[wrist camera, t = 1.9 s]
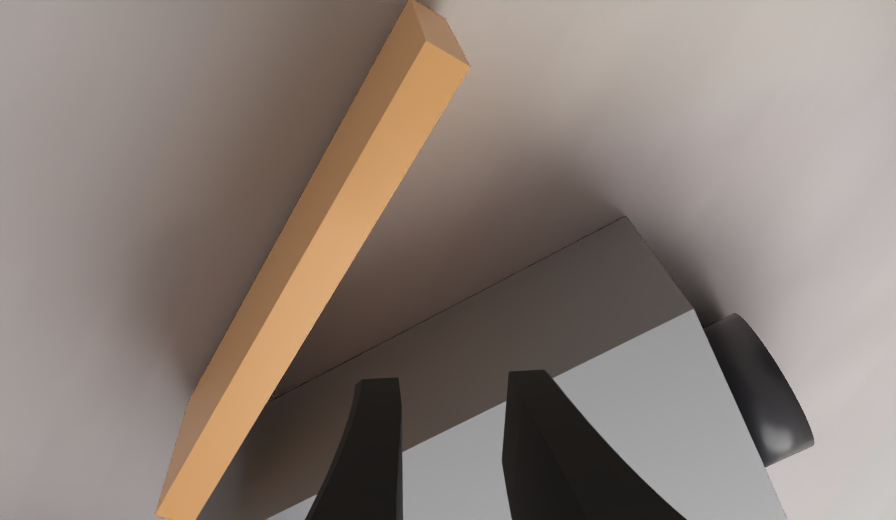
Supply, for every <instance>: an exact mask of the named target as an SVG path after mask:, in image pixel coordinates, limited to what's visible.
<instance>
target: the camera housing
mask: <svg viewBox="0 0 896 520" xmlns="http://www.w3.org/2000/svg"><path fill="white" fill-rule="evenodd" d="M526 370H545V371H546V372H547V373H548V374H549V375H550V376H551V377H552V378H553V379H554V381H555V382H556V383H557V384H558V386H559V387H560V388H561V389H562V391H563V392H564V393H565V394H566V396H567V397H568V398H569V399H570V400H571V402H572V403H573V404H574V405H575V406H576V408H577V409H578V410H579V411H580V412H581V413H582V415H583V416H584V417H585V418H586V419H587V420H588V422H589V423H590V424H591V425H592V426H593V427H594V428H595V430H596V431H597V432H598V433H599V434H600V435H601V436H602V437H603V438H604V439H605V440H606V442H607V443H608V444H609V445H610V446H611V447H612V448H613V449H614V450H615V451H616V452H617V453H618V454H619V456H620V457H621V458H622V459H623V460H624V461H625V462H626V463H627V464H628V465H629V466H630V467H631V468H632V469H633V470H634V471H635V472H636V473H637V474H638V475H639V476H640V477H641V478H642V479H643V480H644V481H645V482H646V483H647V484H648V485H649V486H650V487H651V488H652V489H654V490H655V491H656V492H657V493H658V494H659V495H660V496H661V497H662V498H663V499H664V500H665V501H666V502H667V503H669V504H670V505H671V506H672V507H673V508H674V509H675V510H676V511H677V512H679V513H680V514H681V515H682V516H683V517H684V518H686V519H687V520H788V518H787V516H786V514H785V511H784V509H783V507H782V505H781V502H780V500H779V498H778V496H777V494H776V491H775V489H774V487H773V485H772V482H771V480H770V478H769V476H768V473H767V471H766V469H765V467H767V466H769V465H771V464H774V463H776V462H778V461H780V460H783V459H785V458H787V457H789V456H792V455H794V454H796V453H798V452H800V451H803V450H805V449H807V448H809V447H812V446H813V445H814V438H813V434H812V431H811V428H810V426H809V423H808V421H807V419H806V416H805V414H804V412H803V410H802V408H801V406H800V404H799V402H798V400H797V398H796V396H795V395H794V393H793V391H792V389H791V387H790V385H789V384H788V382H787V380H786V379H785V377H784V375H783V374H782V372H781V370H780V369H779V367H778V365H777V364H776V362H775V361H774V359H773V358H772V356H771V355H770V353H769V352H768V350H767V349H766V347H765V346H764V344H763V343H762V341H761V340H760V339H759V337H758V336H757V335H756V333H755V332H754V331H753V330H752V328H751V327H750V326H749V325H748V324H747V323H746V321H745V320H744V319H743V318H742V317H740V316H739V315H738V314H736V313H734V314H732V315H730V316H728V317H726V318H724V319H722V320H720V321H717V322H715V323H713V324H711V325H709V326H707V327H705V328H702V326H701V324H700V321H699V319H698V317H697V315H696V312H695V310H694V308H693V307H692V305H691V304H690V303H689V301H688V300H687V299H686V297H685V296H684V295H683V293H682V292H681V290H680V289H679V288H678V286H677V285H676V284H675V282H674V281H673V279H672V278H671V277H670V275H669V274H668V273H667V271H666V270H665V269H664V267H663V266H662V264H661V263H660V262H659V260H658V259H657V258H656V256H655V255H654V253H653V252H652V251H651V249H650V248H649V247H648V245H647V244H646V243H645V241H644V240H643V238H642V237H641V236H640V234H639V233H638V232H637V230H636V229H635V227H634V226H633V225H632V223H631V222H630V221H629V219H628V218H627V217H626V216H625V217H623V218H621V219H619V220H617V221H615V222H613V223H611V224H610V225H608V226H606V227H604V228H602V229H600V230H598V231H596V232H594V233H592V234H590V235H588V236H587V237H585V238H583V239H581V240H579V241H577V242H575V243H573V244H571V245H569V246H567V247H565V248H564V249H562V250H560V251H558V252H556V253H554V254H552V255H550V256H548V257H546V258H544V259H542V260H541V261H539V262H537V263H535V264H533V265H531V266H529V267H527V268H525V269H523V270H521V271H519V272H518V273H516V274H514V275H512V276H510V277H508V278H506V279H504V280H502V281H500V282H498V283H496V284H495V285H493V286H491V287H489V288H487V289H485V290H483V291H481V292H479V293H477V294H475V295H474V296H472V297H470V298H468V299H466V300H464V301H462V302H460V303H458V304H456V305H454V306H452V307H451V308H449V309H447V310H445V311H443V312H441V313H439V314H437V315H435V316H433V317H431V318H429V319H428V320H426V321H424V322H422V323H420V324H418V325H416V326H414V327H412V328H410V329H408V330H406V331H405V332H403V333H401V334H399V335H397V336H395V337H393V338H391V339H389V340H387V341H385V342H383V343H382V344H380V345H378V346H376V347H374V348H372V349H370V350H368V351H366V352H364V353H362V354H360V355H359V356H357V357H355V358H353V359H351V360H349V361H347V362H345V363H343V364H341V365H339V366H337V367H336V368H334V369H332V370H330V371H328V372H326V373H324V374H322V375H320V376H318V377H316V378H314V379H313V380H311V381H309V382H307V383H305V384H303V385H301V386H299V387H297V388H295V389H293V390H291V391H290V392H288V393H286V394H284V395H282V396H280V397H278V398H276V399H274V400H272V401H270V402H269V403H267V404H266V405H265V406H264V408H263V410H262V411H261V413H260V414H259V416H258V418H257V419H256V421H255V423H254V424H253V426H252V428H251V429H250V431H249V433H248V434H247V436H246V438H245V439H244V441H243V442H242V444H241V446H240V447H239V449H238V451H237V452H236V454H235V456H234V457H233V459H232V461H231V462H230V464H229V466H228V467H227V469H226V470H225V472H224V474H223V475H222V477H221V479H220V480H219V482H218V484H217V485H216V487H215V489H214V490H213V492H212V494H211V495H210V497H209V498H208V500H207V502H206V503H205V505H204V507H203V508H202V510H201V512H200V513H199V515H198V517H197V518H196V520H305V518H306V516H307V514H308V512H309V510H310V508H311V506H312V504H313V502H314V500H315V498H316V496H317V494H318V492H319V490H320V488H321V486H322V484H323V482H324V479H325V477H326V475H327V473H328V470H329V468H330V466H331V463H332V461H333V458H334V456H335V453H336V451H337V448H338V446H339V443H340V441H341V438H342V435H343V432H344V429H345V426H346V423H347V420H348V417H349V414H350V410H351V406H352V402H353V397H354V390H355V385H356V384H357V383H358V382H359V381H360V380H361V379H375V378H394V377H398V378H399V386H400V394H401V403H402V465H403V520H512V518H511V513H510V507H509V502H508V496H507V491H506V485H505V479H504V472H503V466H502V449H503V437H504V424H505V412H506V399H507V387H508V375H509V371H526Z"/></svg>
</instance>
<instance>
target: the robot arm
mask: <svg viewBox="0 0 896 520" xmlns="http://www.w3.org/2000/svg"><path fill="white" fill-rule="evenodd" d="M502 466H503V472H504V479H505V485H506V491H507V496H508V502H509V507H510V513H511V518H512V520H687V519H686V518H684V517H683V516H682V515H681V514H680V513H679V512H677V511H676V510H675V509H674V508H673V507H672V506H671V505H670V504H669V503H667V502H666V501H665V500H664V499H663V498H662V497H661V496H660V495H659V494H658V493H657V492H656V491H655V490H654V489H652V488H651V487H650V486H649V485H648V484H647V483H646V482H645V481H644V480H643V479H642V478H641V477H640V476H639V475H638V474H637V473H636V472H635V471H634V470H633V469H632V468H631V467H630V466H629V465H628V464H627V463H626V462H625V461H624V460H623V459H622V458H621V457H620V456H619V454H618V453H617V452H616V451H615V450H614V449H613V448H612V447H611V446H610V445H609V444H608V443H607V442H606V440H605V439H604V438H603V437H602V436H601V435H600V434H599V433H598V432H597V431H596V430H595V428H594V427H593V426H592V425H591V424H590V423H589V422H588V420H587V419H586V418H585V417H584V416H583V415H582V413H581V412H580V411H579V410H578V409H577V408H576V406H575V405H574V404H573V403H572V402H571V400H570V399H569V398H568V397H567V396H566V394H565V393H564V392H563V391H562V389H561V388H560V387H559V386H558V384H557V383H556V382H555V381H554V379H553V378H552V377H551V376H550V375H549V374H548V373H547V372H546V371H545V370H526V371H509V375H508V387H507V399H506V412H505V424H504V437H503V449H502ZM305 520H403V465H402V403H401V394H400V386H399V378H398V377H394V378H375V379H361V380H360V381H359V382H358V383H357V384H356V385H355V390H354V397H353V402H352V406H351V410H350V414H349V417H348V420H347V423H346V426H345V429H344V432H343V435H342V438H341V441H340V443H339V446H338V448H337V451H336V453H335V456H334V458H333V461H332V463H331V466H330V468H329V470H328V473H327V475H326V477H325V479H324V482H323V484H322V486H321V488H320V490H319V492H318V494H317V496H316V498H315V500H314V502H313V504H312V506H311V508H310V510H309V512H308V514H307V516H306V518H305Z"/></svg>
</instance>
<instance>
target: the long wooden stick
mask: <svg viewBox="0 0 896 520" xmlns="http://www.w3.org/2000/svg"><path fill="white" fill-rule="evenodd" d="M469 69H470V65H469V63H468V61H467V59H466V57H465V55H464V53H463V51H462V49H461V47H460V46H459V44H458V42H457V40H456V38H455V36H454V34H453V32H452V30H451V28H450V26H449V25H448V23H447V21H446V19H445V18H444V17H442V16H440V15H439V14H437V13H436V12H434V11H432V10H431V9H429V8H427V7H426V6H424V5H422V4H421V3H419V2H417V1H416V0H408V2H407V4H406V6H405V7H404V9H403V11H402V13H401V15H400V16H399V18H398V20H397V22H396V24H395V26H394V27H393V29H392V31H391V33H390V35H389V37H388V38H387V40H386V42H385V44H384V46H383V47H382V49H381V51H380V53H379V55H378V57H377V58H376V60H375V62H374V64H373V66H372V67H371V69H370V71H369V73H368V75H367V77H366V78H365V80H364V82H363V84H362V86H361V88H360V89H359V91H358V93H357V95H356V97H355V98H354V100H353V102H352V104H351V106H350V108H349V109H348V111H347V113H346V115H345V117H344V119H343V120H342V122H341V124H340V126H339V128H338V129H337V131H336V133H335V135H334V137H333V139H332V140H331V142H330V144H329V146H328V148H327V150H326V151H325V153H324V155H323V157H322V159H321V160H320V162H319V164H318V166H317V168H316V170H315V171H314V173H313V175H312V177H311V179H310V181H309V182H308V184H307V186H306V188H305V190H304V191H303V193H302V195H301V197H300V199H299V201H298V202H297V204H296V206H295V208H294V210H293V211H292V213H291V215H290V217H289V219H288V221H287V222H286V224H285V226H284V228H283V230H282V232H281V233H280V235H279V237H278V239H277V241H276V242H275V244H274V246H273V248H272V250H271V252H270V253H269V255H268V257H267V259H266V261H265V263H264V264H263V266H262V268H261V270H260V272H259V273H258V275H257V277H256V279H255V281H254V283H253V284H252V286H251V288H250V290H249V292H248V294H247V295H246V297H245V299H244V301H243V303H242V304H241V306H240V308H239V310H238V312H237V314H236V315H235V317H234V319H233V321H232V323H231V324H230V326H229V328H228V330H227V332H226V334H225V335H224V337H223V339H222V341H221V343H220V345H219V346H218V348H217V350H216V352H215V354H214V355H213V357H212V359H211V361H210V363H209V365H208V366H207V368H206V370H205V372H204V374H203V376H202V377H201V379H200V381H199V383H198V385H197V386H196V388H195V390H194V392H193V394H192V396H191V397H190V399H189V401H188V404H187V408H186V411H185V414H184V418H183V421H182V425H181V428H180V431H179V435H178V438H177V441H176V445H175V448H174V452H173V455H172V458H171V462H170V465H169V468H168V472H167V475H166V478H165V482H164V485H163V489H162V492H161V495H160V499H159V502H158V505H157V509H156V512H155V516H159V517H162V518H165V519H169V520H196V518H197V517H198V515H199V513H200V512H201V510H202V508H203V507H204V505H205V503H206V502H207V500H208V498H209V497H210V495H211V494H212V492H213V490H214V489H215V487H216V485H217V484H218V482H219V480H220V479H221V477H222V475H223V474H224V472H225V470H226V469H227V467H228V466H229V464H230V462H231V461H232V459H233V457H234V456H235V454H236V452H237V451H238V449H239V447H240V446H241V444H242V442H243V441H244V439H245V438H246V436H247V434H248V433H249V431H250V429H251V428H252V426H253V424H254V423H255V421H256V419H257V418H258V416H259V414H260V413H261V411H262V410H263V408H264V406H265V405H266V403H267V401H268V400H269V398H270V396H271V395H272V393H273V391H274V390H275V388H276V386H277V385H278V383H279V382H280V380H281V378H282V377H283V375H284V373H285V372H286V370H287V368H288V367H289V365H290V363H291V362H292V360H293V358H294V357H295V355H296V354H297V352H298V350H299V349H300V347H301V345H302V344H303V342H304V340H305V339H306V337H307V335H308V334H309V332H310V330H311V329H312V327H313V326H314V324H315V322H316V321H317V319H318V317H319V316H320V314H321V312H322V311H323V309H324V307H325V306H326V304H327V302H328V301H329V299H330V298H331V296H332V294H333V293H334V291H335V289H336V288H337V286H338V284H339V283H340V281H341V279H342V278H343V276H344V274H345V273H346V271H347V269H348V268H349V266H350V265H351V263H352V261H353V260H354V258H355V256H356V255H357V253H358V251H359V250H360V248H361V246H362V245H363V243H364V241H365V240H366V238H367V237H368V235H369V233H370V232H371V230H372V228H373V227H374V225H375V223H376V222H377V220H378V218H379V217H380V215H381V213H382V212H383V210H384V209H385V207H386V205H387V204H388V202H389V200H390V199H391V197H392V195H393V194H394V192H395V190H396V189H397V187H398V185H399V184H400V182H401V181H402V179H403V177H404V176H405V174H406V172H407V171H408V169H409V167H410V166H411V164H412V162H413V161H414V159H415V157H416V156H417V154H418V153H419V151H420V149H421V148H422V146H423V144H424V143H425V141H426V139H427V138H428V136H429V134H430V133H431V131H432V129H433V128H434V126H435V125H436V123H437V121H438V120H439V118H440V116H441V115H442V113H443V111H444V110H445V108H446V106H447V105H448V103H449V101H450V100H451V98H452V97H453V95H454V93H455V92H456V90H457V88H458V87H459V85H460V83H461V82H462V80H463V78H464V77H465V75H466V73H467V72H468V70H469Z"/></svg>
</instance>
